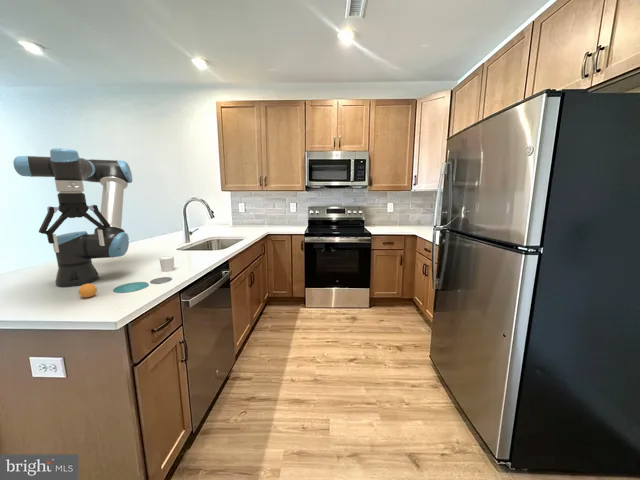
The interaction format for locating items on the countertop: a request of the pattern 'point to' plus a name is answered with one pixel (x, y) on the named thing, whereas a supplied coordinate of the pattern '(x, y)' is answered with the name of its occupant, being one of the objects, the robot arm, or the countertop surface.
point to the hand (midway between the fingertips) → (80, 248)
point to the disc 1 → (130, 287)
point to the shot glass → (167, 264)
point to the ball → (87, 290)
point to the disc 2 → (160, 280)
